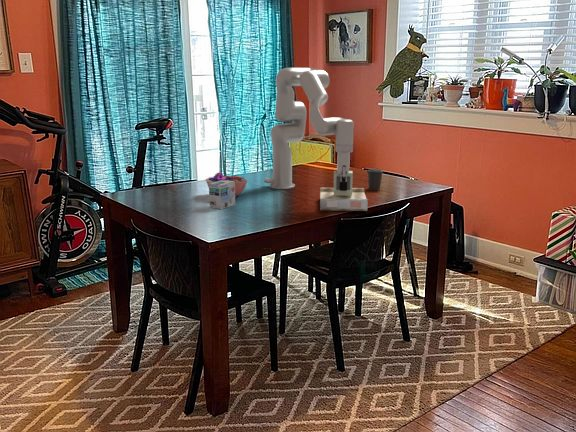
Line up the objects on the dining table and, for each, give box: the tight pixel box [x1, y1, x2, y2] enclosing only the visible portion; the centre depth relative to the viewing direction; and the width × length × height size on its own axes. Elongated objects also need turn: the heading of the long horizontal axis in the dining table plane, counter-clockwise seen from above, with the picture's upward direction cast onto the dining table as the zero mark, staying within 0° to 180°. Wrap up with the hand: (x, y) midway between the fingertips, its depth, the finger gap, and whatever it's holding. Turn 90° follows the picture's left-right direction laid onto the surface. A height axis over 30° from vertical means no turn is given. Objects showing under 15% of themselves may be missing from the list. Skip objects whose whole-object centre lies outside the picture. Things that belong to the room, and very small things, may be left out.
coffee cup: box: [366, 168, 384, 191], centre depth 286 cm, size 8×8×10 cm
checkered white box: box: [319, 187, 369, 212], centre depth 255 cm, size 20×22×6 cm
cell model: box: [205, 171, 248, 197], centre depth 270 cm, size 17×20×11 cm
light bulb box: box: [208, 180, 236, 210], centre depth 253 cm, size 11×7×11 cm, turn 148°
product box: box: [333, 170, 354, 196], centre depth 254 cm, size 5×8×10 cm, turn 87°
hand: (342, 188), depth 255 cm, fingers closed on product box, 5 cm apart
